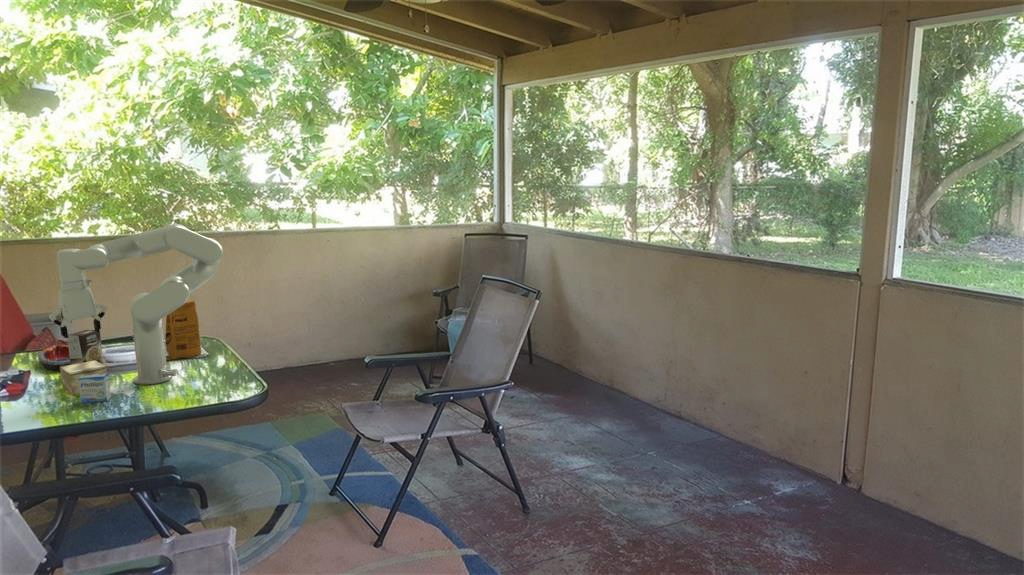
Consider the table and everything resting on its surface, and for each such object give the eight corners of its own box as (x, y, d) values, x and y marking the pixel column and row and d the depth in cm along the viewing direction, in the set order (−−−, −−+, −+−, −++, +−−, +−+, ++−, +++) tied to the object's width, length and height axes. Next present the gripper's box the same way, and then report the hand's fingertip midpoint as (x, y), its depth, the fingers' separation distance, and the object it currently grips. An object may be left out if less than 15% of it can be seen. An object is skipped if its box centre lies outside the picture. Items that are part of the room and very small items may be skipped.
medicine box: (80, 403, 229) (77, 378, 227) (84, 399, 233) (81, 374, 231) (107, 401, 231) (104, 376, 229) (111, 397, 235) (108, 372, 233)
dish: (40, 376, 259) (38, 363, 258) (38, 357, 284) (36, 345, 283) (89, 369, 268) (87, 356, 267) (83, 351, 293) (81, 340, 292)
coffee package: (165, 355, 286) (160, 302, 282) (198, 350, 293) (193, 298, 289) (170, 360, 278) (164, 306, 274) (203, 355, 285) (198, 302, 281)
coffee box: (86, 378, 255) (81, 335, 252) (71, 377, 257) (65, 334, 254) (105, 371, 264) (100, 329, 261) (90, 370, 265) (85, 328, 262)
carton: (97, 380, 252) (95, 362, 251) (108, 388, 244) (106, 368, 243) (62, 388, 245) (60, 368, 243) (73, 395, 236) (70, 375, 235)
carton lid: (95, 361, 251) (95, 360, 251) (106, 367, 243) (106, 365, 243) (59, 368, 243) (59, 366, 243) (70, 374, 235) (69, 372, 235)
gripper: (99, 280, 246) (105, 328, 249) (41, 288, 234) (49, 338, 237) (106, 282, 241) (113, 331, 244) (48, 291, 229) (56, 341, 232)
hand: (81, 334), depth 241 cm, fingers open, 9 cm apart
